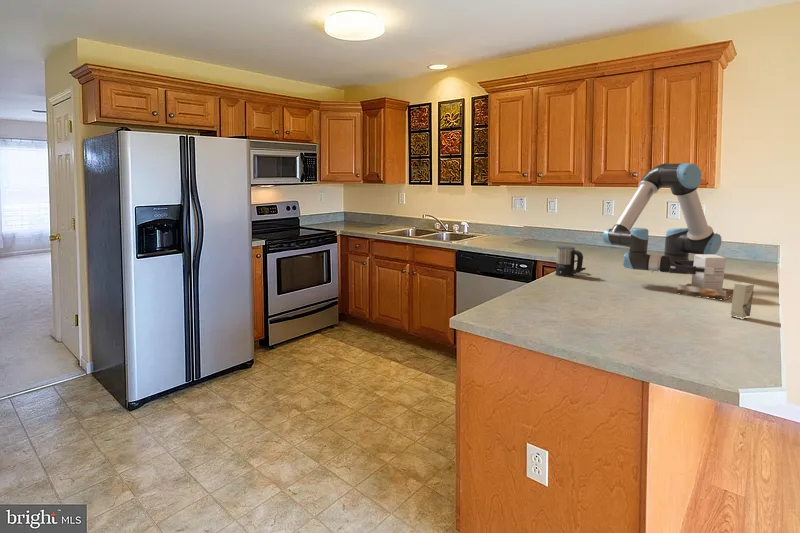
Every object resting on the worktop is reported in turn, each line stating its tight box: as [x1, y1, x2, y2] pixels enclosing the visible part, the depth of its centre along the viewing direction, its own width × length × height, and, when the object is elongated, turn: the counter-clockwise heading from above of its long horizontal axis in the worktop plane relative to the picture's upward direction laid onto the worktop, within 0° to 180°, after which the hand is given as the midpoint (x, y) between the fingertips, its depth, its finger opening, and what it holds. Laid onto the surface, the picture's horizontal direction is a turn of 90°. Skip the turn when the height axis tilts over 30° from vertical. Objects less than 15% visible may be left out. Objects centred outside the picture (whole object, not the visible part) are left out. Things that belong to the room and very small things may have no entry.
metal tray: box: [676, 283, 734, 301], centre depth 220 cm, size 18×16×4 cm
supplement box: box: [690, 254, 727, 290], centre depth 219 cm, size 9×9×15 cm
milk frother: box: [555, 245, 587, 277], centre depth 262 cm, size 14×16×15 cm
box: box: [730, 281, 755, 318], centre depth 184 cm, size 5×4×13 cm
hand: (714, 268), depth 218 cm, fingers open, 13 cm apart
